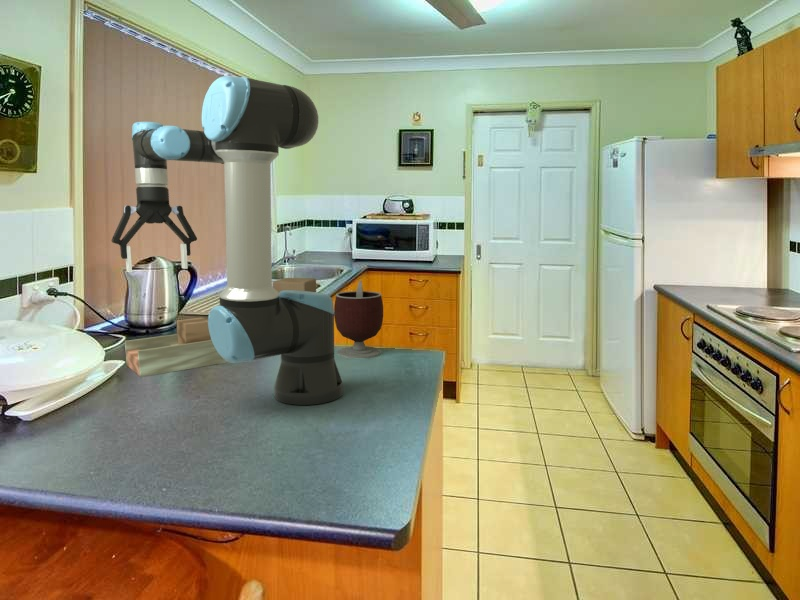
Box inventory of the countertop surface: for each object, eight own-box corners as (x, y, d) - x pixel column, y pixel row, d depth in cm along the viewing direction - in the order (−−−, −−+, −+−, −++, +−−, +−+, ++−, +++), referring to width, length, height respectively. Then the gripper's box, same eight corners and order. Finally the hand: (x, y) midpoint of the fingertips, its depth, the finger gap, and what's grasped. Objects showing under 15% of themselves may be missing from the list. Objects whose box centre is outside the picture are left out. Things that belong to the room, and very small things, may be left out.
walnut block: (212, 346, 154) (211, 321, 153) (186, 350, 150) (185, 324, 148) (203, 342, 159) (202, 317, 158) (178, 345, 155) (176, 320, 154)
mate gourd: (382, 359, 156) (382, 287, 153) (332, 359, 156) (331, 287, 153) (384, 346, 172) (383, 280, 169) (338, 346, 172) (337, 280, 169)
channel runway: (268, 355, 161) (268, 332, 160) (140, 377, 140) (138, 351, 139) (248, 346, 172) (247, 324, 170) (126, 364, 151) (124, 340, 150)
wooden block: (306, 350, 167) (304, 282, 164) (274, 348, 169) (272, 281, 166) (318, 342, 177) (316, 278, 173) (287, 340, 179) (285, 277, 175)
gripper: (197, 187, 154) (201, 266, 158) (94, 185, 140) (101, 271, 143) (206, 187, 148) (210, 268, 152) (100, 184, 134) (107, 274, 137)
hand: (157, 270), depth 147 cm, fingers open, 13 cm apart
